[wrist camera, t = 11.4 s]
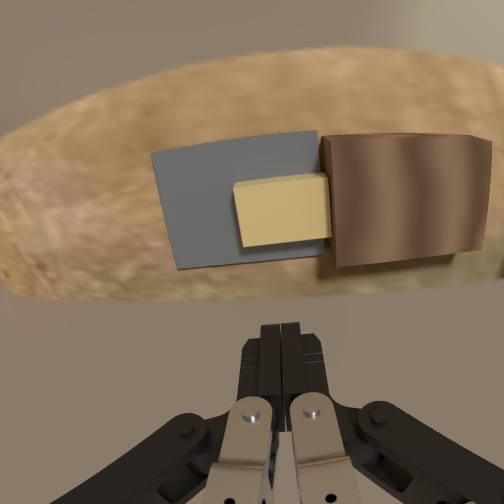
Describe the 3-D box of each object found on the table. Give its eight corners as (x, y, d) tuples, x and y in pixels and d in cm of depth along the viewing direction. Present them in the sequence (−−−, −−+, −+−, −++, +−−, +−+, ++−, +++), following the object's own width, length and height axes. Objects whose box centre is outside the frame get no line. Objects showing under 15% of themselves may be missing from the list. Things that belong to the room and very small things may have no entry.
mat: (316, 130, 26) (316, 130, 26) (324, 252, 31) (325, 254, 31) (152, 153, 28) (150, 153, 27) (178, 267, 33) (177, 268, 33)
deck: (469, 135, 25) (492, 141, 21) (463, 234, 30) (481, 249, 26) (321, 136, 26) (330, 140, 23) (328, 248, 31) (336, 267, 28)
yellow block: (323, 172, 28) (328, 177, 26) (327, 228, 30) (331, 236, 28) (235, 182, 28) (232, 188, 27) (244, 238, 31) (243, 247, 29)
